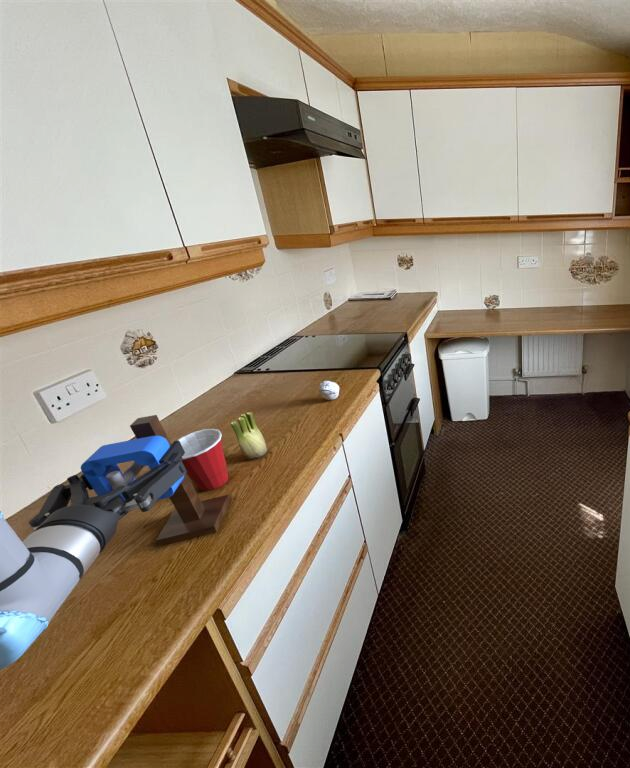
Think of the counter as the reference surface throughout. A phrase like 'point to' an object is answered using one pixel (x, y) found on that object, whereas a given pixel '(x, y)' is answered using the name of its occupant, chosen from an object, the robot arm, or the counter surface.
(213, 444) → the plastic cup
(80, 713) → the counter surface
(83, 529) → the robot arm
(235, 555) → the counter surface
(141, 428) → the hook stand
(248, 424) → the fennel bulb
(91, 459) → the blue rounded square frame
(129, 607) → the counter surface
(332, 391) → the white lumpy ball
